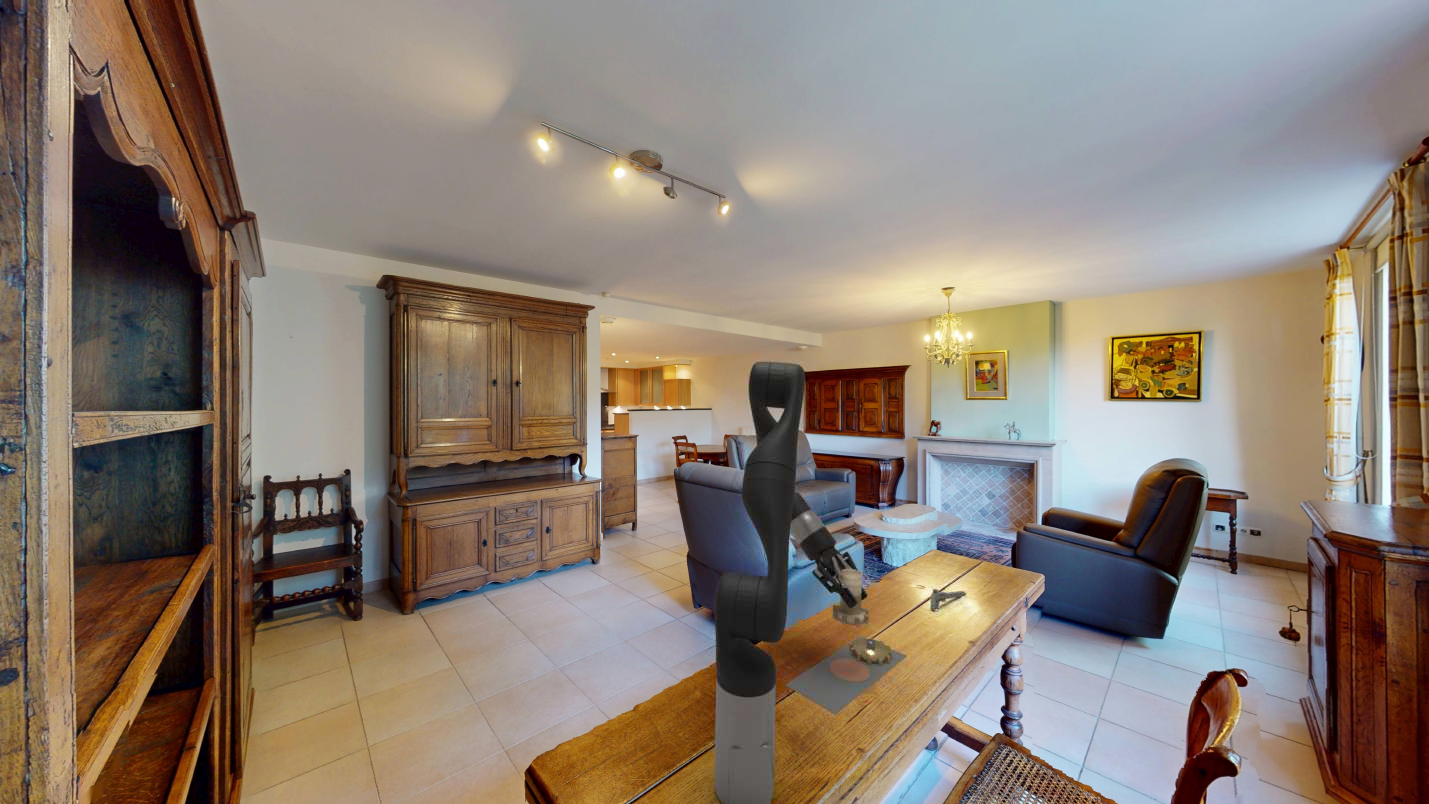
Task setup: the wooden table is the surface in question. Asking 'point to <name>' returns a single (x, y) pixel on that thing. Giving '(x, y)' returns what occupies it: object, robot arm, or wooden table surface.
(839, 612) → the beech gear spindle
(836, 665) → the gear board
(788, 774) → the wooden table surface
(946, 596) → the caliper
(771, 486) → the robot arm
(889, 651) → the brass gear
